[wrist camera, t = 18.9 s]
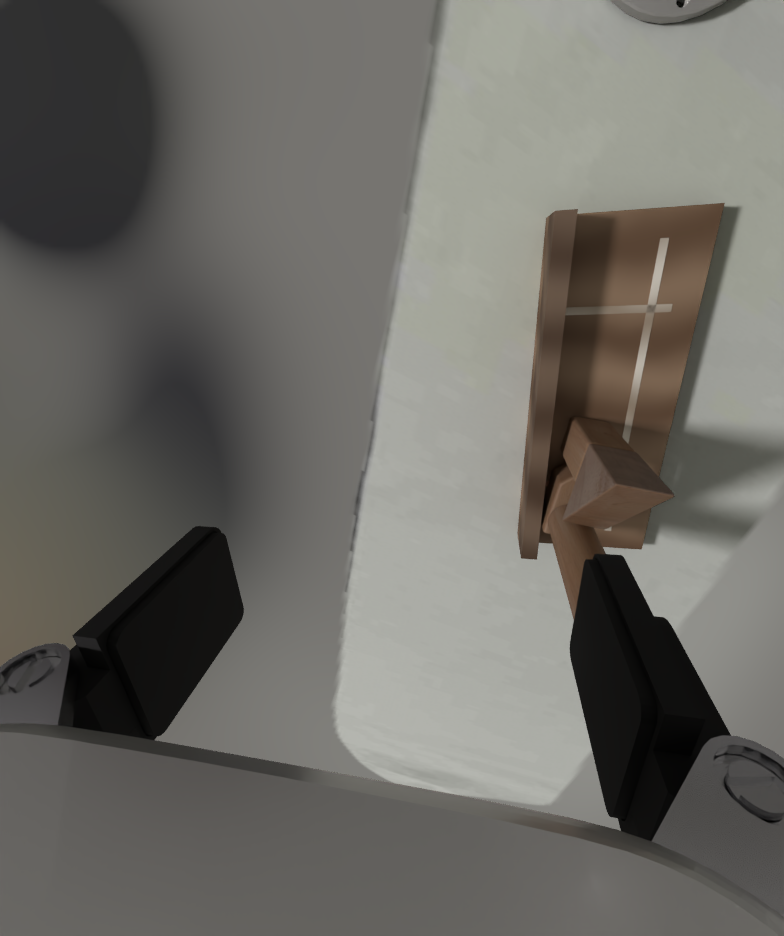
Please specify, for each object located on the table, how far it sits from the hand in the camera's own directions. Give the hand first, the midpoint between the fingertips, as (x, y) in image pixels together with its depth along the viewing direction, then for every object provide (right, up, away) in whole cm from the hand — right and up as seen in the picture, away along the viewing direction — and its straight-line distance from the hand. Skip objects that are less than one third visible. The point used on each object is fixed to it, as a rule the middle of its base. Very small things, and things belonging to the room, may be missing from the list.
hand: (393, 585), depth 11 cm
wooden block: (+17, +3, +30) cm, 35 cm away
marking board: (+19, +9, +28) cm, 35 cm away
